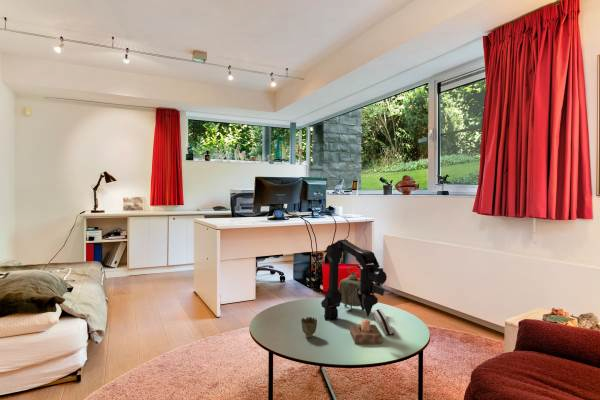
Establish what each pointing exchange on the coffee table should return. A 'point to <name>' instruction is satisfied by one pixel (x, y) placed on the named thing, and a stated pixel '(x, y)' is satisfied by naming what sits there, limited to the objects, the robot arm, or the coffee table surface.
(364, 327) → the peg
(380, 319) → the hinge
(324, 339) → the coffee table surface
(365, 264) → the robot arm
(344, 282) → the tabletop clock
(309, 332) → the cup
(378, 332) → the hole block
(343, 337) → the coffee table surface
